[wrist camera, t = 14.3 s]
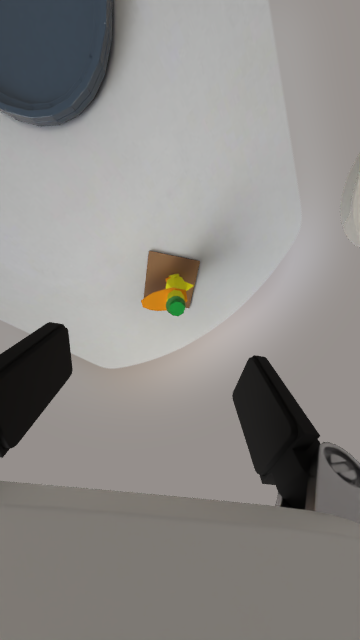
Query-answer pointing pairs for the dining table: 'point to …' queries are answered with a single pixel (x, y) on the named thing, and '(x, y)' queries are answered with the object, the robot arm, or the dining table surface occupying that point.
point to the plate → (52, 57)
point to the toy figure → (169, 296)
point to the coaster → (169, 272)
